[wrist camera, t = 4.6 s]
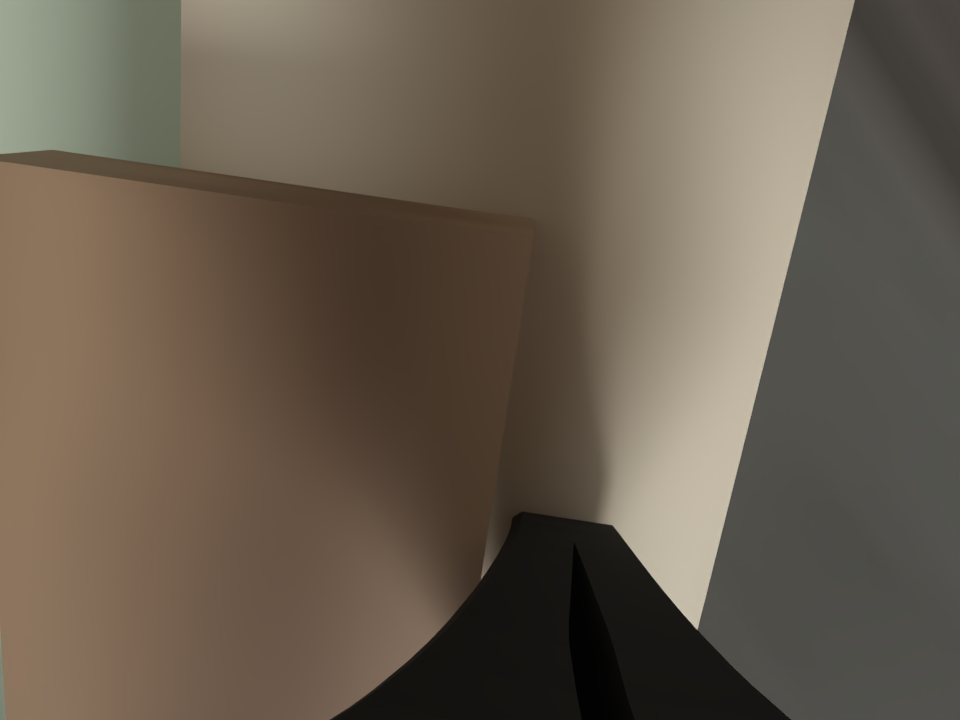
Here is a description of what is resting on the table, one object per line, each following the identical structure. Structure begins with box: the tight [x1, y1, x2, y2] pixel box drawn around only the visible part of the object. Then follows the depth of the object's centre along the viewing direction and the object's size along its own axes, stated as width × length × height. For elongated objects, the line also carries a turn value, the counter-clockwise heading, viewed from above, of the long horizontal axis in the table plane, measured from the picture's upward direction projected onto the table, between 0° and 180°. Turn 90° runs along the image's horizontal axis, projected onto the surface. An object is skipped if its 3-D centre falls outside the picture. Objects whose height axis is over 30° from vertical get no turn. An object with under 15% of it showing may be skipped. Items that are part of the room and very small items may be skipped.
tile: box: [0, 150, 535, 720], centre depth 10 cm, size 6×9×2 cm, turn 172°
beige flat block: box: [180, 0, 855, 629], centre depth 12 cm, size 8×16×2 cm, turn 173°
